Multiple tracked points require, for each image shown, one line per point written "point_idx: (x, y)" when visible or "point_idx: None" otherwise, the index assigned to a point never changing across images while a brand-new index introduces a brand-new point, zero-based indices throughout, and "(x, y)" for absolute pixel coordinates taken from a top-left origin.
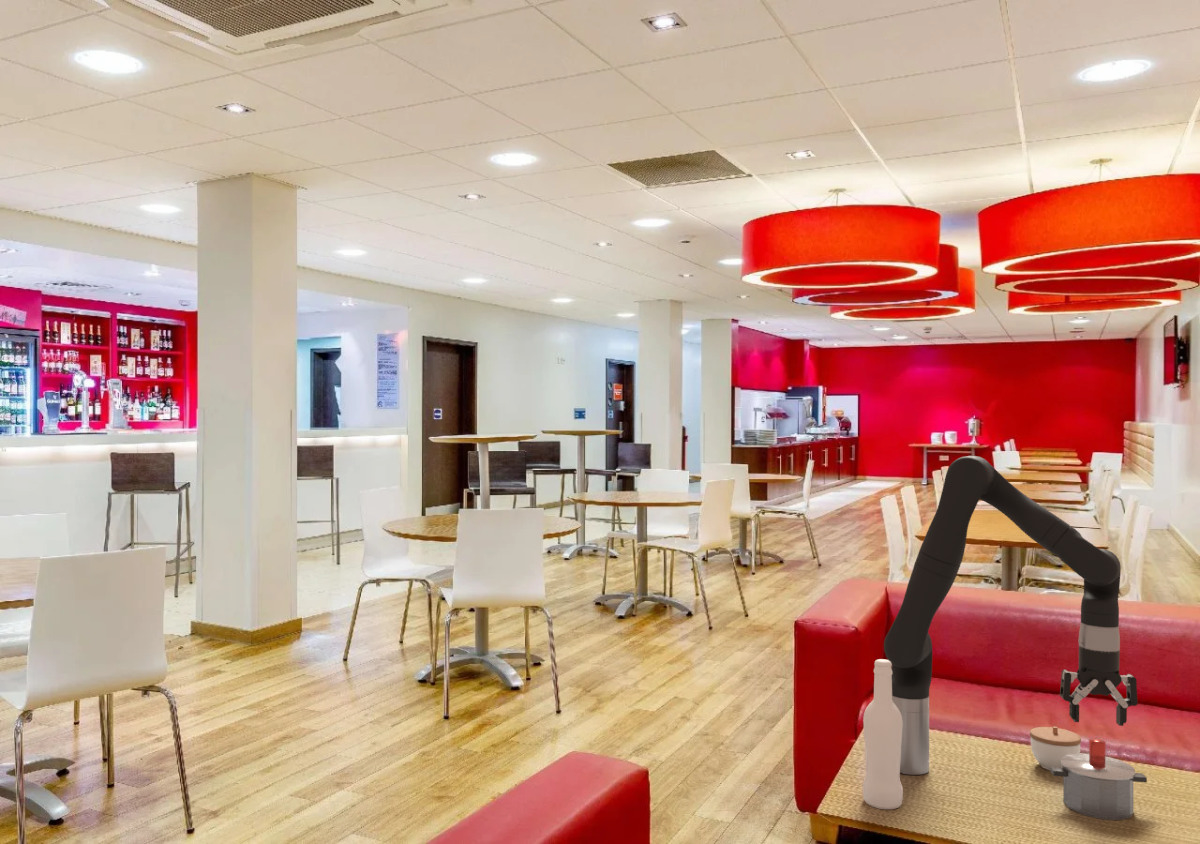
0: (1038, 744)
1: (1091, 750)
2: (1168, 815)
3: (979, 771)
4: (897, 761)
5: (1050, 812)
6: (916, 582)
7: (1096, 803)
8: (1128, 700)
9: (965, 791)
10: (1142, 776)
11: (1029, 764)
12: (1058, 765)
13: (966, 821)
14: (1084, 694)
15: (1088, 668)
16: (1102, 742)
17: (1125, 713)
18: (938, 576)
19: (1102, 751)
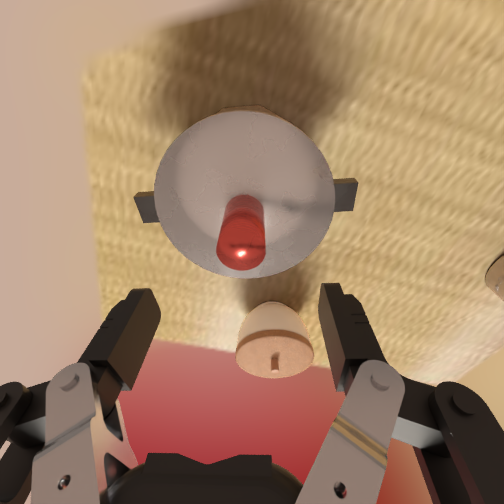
0: (306, 334)
1: (262, 225)
2: (124, 169)
3: (398, 279)
4: None
5: (356, 113)
6: None
7: (265, 111)
8: (31, 421)
9: (485, 187)
10: (142, 202)
11: (305, 315)
12: (275, 305)
13: None
14: (344, 452)
15: None
16: (227, 240)
17: (98, 339)
18: None
19: (231, 217)
